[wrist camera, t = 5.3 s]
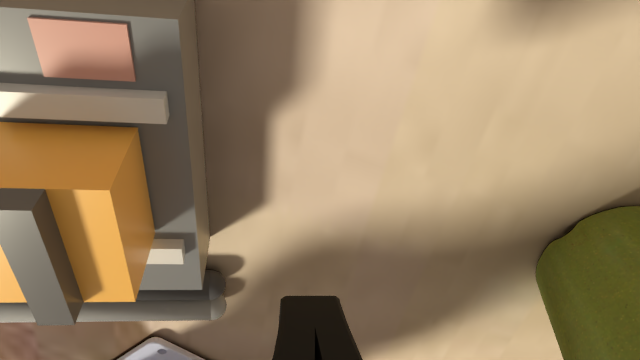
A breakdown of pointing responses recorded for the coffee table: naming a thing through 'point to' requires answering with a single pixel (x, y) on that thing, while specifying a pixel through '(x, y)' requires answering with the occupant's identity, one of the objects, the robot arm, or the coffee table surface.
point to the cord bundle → (145, 305)
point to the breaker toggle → (72, 217)
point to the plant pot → (595, 287)
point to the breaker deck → (121, 103)
